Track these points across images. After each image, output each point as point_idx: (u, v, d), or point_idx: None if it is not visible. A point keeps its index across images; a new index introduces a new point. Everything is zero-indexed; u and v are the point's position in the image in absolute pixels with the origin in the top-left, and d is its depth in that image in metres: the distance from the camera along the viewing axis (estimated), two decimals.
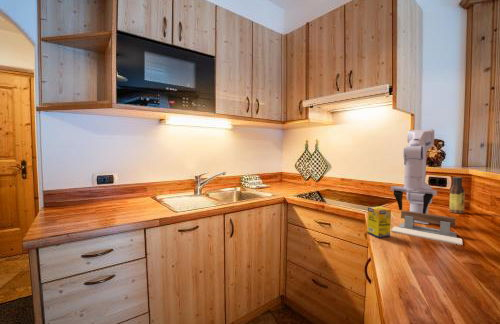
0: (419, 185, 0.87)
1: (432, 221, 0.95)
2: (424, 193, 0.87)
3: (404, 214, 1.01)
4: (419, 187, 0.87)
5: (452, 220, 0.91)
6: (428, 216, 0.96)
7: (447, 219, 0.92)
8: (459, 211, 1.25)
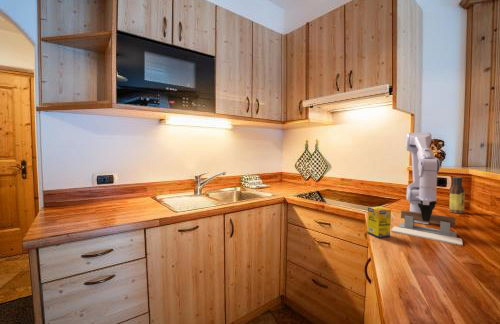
0: (422, 194, 0.96)
1: (432, 221, 0.95)
2: None
3: (404, 214, 1.01)
4: (422, 196, 0.96)
5: (452, 220, 0.91)
6: None
7: (447, 219, 0.92)
8: (459, 211, 1.25)
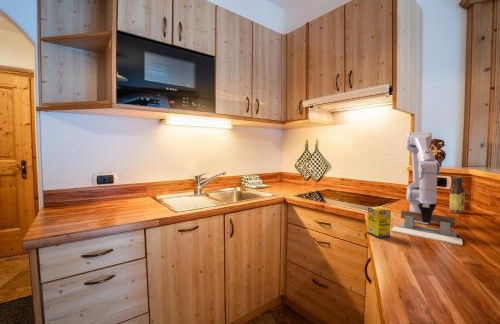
0: (422, 196, 0.96)
1: (432, 221, 0.95)
2: None
3: (404, 214, 1.01)
4: (422, 198, 0.96)
5: (452, 220, 0.91)
6: None
7: (447, 219, 0.92)
8: (459, 211, 1.25)
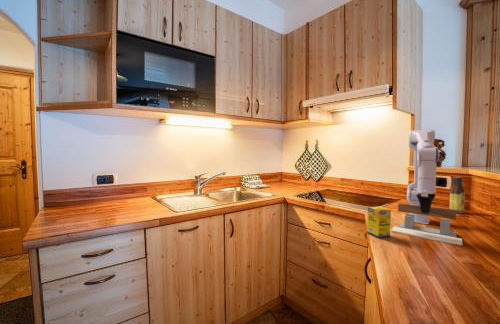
0: (420, 185, 0.90)
1: (431, 214, 0.89)
2: None
3: (402, 206, 0.95)
4: (420, 187, 0.90)
5: (452, 212, 0.85)
6: None
7: (447, 211, 0.86)
8: (459, 211, 1.25)
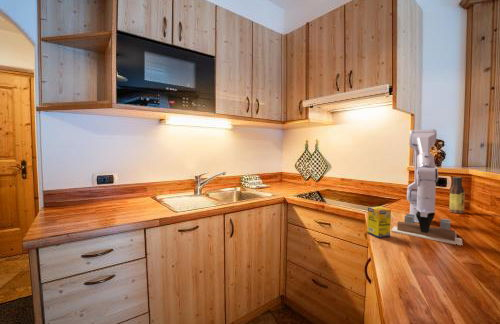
0: (419, 205, 0.91)
1: (430, 234, 0.89)
2: None
3: (401, 225, 0.95)
4: (419, 207, 0.91)
5: (451, 234, 0.85)
6: None
7: (446, 232, 0.86)
8: (459, 211, 1.25)
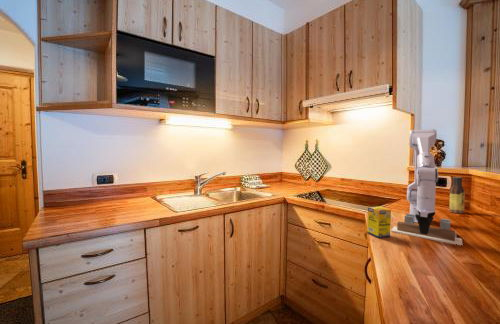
0: (419, 205, 0.91)
1: (430, 234, 0.89)
2: None
3: (401, 225, 0.95)
4: (419, 207, 0.91)
5: (451, 234, 0.85)
6: None
7: (446, 233, 0.86)
8: (459, 211, 1.25)
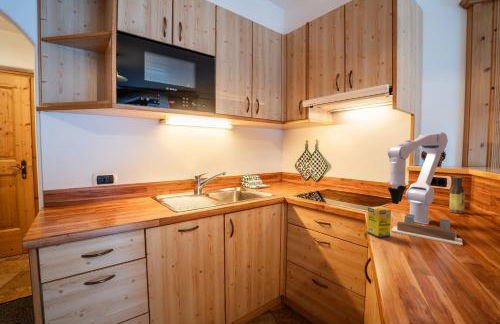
0: (392, 179, 1.04)
1: (430, 234, 0.89)
2: None
3: (401, 225, 0.95)
4: (392, 181, 1.04)
5: (451, 234, 0.85)
6: (426, 229, 0.90)
7: (446, 233, 0.86)
8: (459, 211, 1.25)
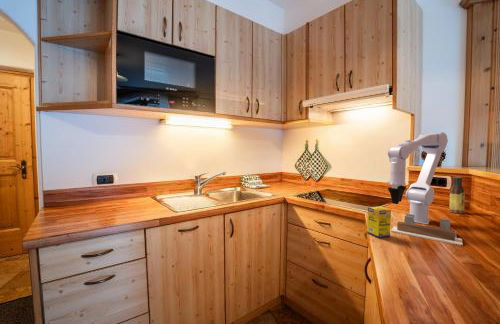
0: (392, 179, 1.04)
1: (430, 234, 0.89)
2: None
3: (401, 225, 0.95)
4: (392, 181, 1.04)
5: (451, 234, 0.85)
6: (426, 229, 0.90)
7: (446, 233, 0.86)
8: (459, 211, 1.25)
